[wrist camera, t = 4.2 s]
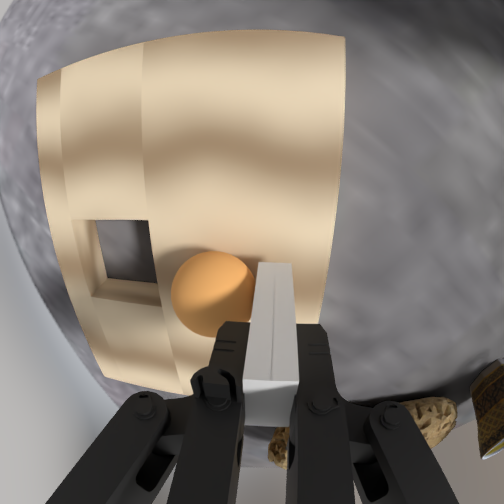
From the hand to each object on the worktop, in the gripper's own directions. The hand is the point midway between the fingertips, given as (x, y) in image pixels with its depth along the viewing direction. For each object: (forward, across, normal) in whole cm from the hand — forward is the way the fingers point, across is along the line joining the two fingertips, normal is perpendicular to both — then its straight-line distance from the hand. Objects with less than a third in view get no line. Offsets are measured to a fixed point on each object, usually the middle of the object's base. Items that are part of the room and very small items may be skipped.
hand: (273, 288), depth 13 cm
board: (+4, -6, 0) cm, 7 cm away
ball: (-1, -3, 0) cm, 3 cm away
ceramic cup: (+4, +28, -14) cm, 32 cm away
